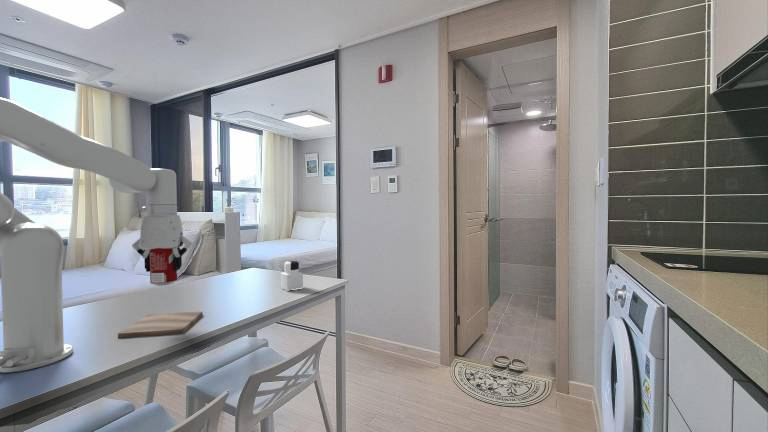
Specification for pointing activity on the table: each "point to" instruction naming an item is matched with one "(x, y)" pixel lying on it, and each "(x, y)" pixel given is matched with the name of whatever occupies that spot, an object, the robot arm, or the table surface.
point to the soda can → (162, 267)
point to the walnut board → (161, 324)
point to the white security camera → (291, 276)
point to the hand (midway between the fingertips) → (163, 269)
